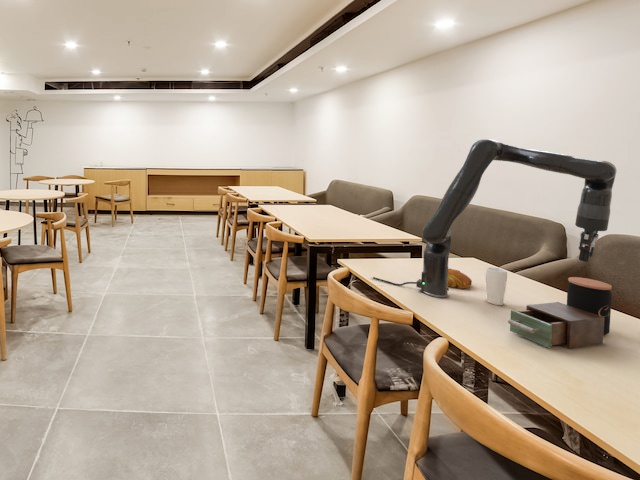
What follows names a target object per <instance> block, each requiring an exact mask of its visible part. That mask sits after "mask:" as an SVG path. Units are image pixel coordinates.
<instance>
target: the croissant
mask: <svg viewBox="0 0 640 480" xmlns="http://www.w3.org/2000/svg"><path fill="white" fill-rule="evenodd" d="M472 283H473V281H472V279H471V278H470V277H469V276H468V275H466V274H465V273H464V272H461V271H460V270H458V269H452V268H449V267H448V286H447V287H451V288H455V289H457V290H458V289H460V290H461V289H469V288H470V287H471V286H472Z"/></svg>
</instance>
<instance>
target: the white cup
mask: <svg viewBox="0 0 640 480" xmlns="http://www.w3.org/2000/svg"><path fill="white" fill-rule="evenodd" d="M507 281H508V271H507V270H506V269H503V268H499V267H493V266H487V267H486V268H485V285H486V286H485V287H486V301H487V303H489V304H491V305H495V306H503V305H504V302H505V301H504V300H505V293H506V288H507Z"/></svg>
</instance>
